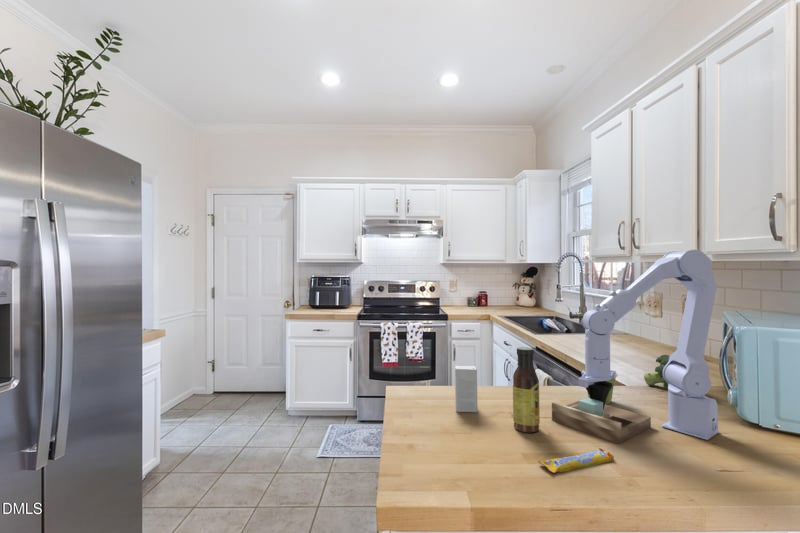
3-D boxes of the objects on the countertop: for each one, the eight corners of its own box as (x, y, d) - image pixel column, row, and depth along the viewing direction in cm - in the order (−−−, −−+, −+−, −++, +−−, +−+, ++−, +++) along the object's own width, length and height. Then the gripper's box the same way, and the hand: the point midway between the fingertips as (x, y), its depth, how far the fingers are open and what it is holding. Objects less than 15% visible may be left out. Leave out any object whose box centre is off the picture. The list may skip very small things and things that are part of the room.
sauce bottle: (541, 435, 92) (540, 351, 92) (514, 432, 93) (513, 350, 93) (537, 424, 98) (536, 346, 98) (512, 422, 100) (511, 345, 100)
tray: (650, 427, 96) (650, 409, 96) (619, 443, 87) (619, 423, 87) (585, 407, 110) (585, 391, 110) (551, 420, 101) (551, 402, 101)
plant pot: (624, 406, 111) (624, 376, 111) (591, 406, 111) (591, 376, 111) (607, 396, 120) (607, 368, 120) (577, 395, 120) (576, 368, 121)
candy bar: (601, 454, 83) (600, 445, 83) (617, 463, 79) (617, 454, 79) (536, 467, 78) (536, 458, 78) (551, 478, 74) (551, 468, 74)
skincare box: (476, 407, 111) (476, 365, 111) (477, 412, 106) (477, 369, 106) (454, 406, 111) (454, 365, 111) (455, 412, 107) (455, 369, 107)
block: (603, 418, 96) (603, 402, 96) (594, 421, 93) (594, 405, 93) (587, 413, 99) (587, 397, 99) (578, 416, 97) (578, 400, 97)
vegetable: (658, 374, 137) (703, 363, 125) (660, 406, 129) (707, 398, 118) (634, 355, 135) (676, 343, 124) (633, 387, 127) (679, 377, 116)
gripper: (597, 351, 106) (597, 400, 106) (566, 358, 97) (567, 411, 97) (623, 355, 100) (624, 408, 100) (594, 363, 92) (594, 420, 91)
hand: (598, 410), depth 98 cm, fingers closed
